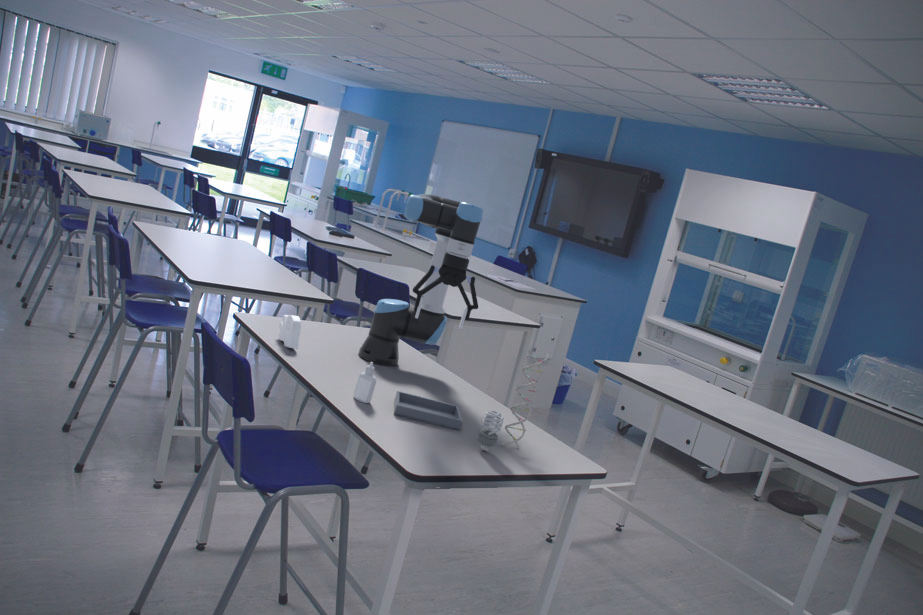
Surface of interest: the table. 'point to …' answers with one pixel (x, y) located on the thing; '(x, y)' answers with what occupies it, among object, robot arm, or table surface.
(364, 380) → the eye dropper bottle
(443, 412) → the tray
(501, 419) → the light bulb
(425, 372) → the table surface
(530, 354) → the dna model
